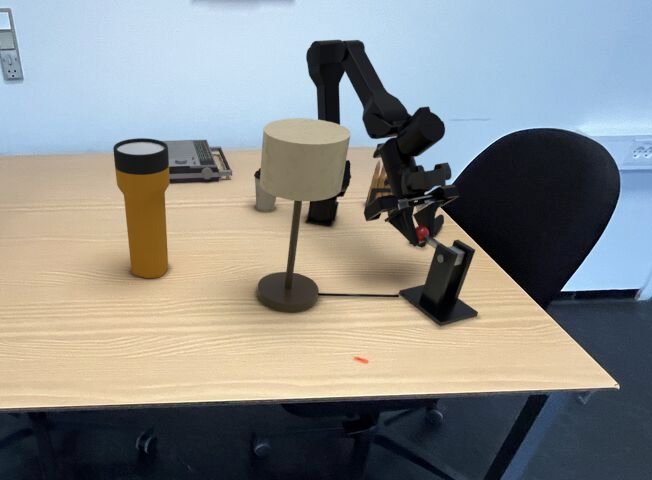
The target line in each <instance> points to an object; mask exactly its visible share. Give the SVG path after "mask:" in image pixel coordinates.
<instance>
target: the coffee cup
mask: <svg viewBox="0 0 652 480" xmlns="http://www.w3.org/2000/svg"><path fill="white" fill-rule="evenodd" d="M260 171H261V167H259V168H258V170H256V171H255V172H254V174H253V177H254V186H255V204H256V205H255V206H256V209H257V210H258V211H260V212H265V213H266V212H272V211H273V210H274V209H275V205H276V201H277V197H276V196H273V195H271V194H269V193H267V192H266V191H264V190H263V189H262V188H261V186H260Z"/></svg>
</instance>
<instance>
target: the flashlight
mask: <svg viewBox="0 0 652 480" xmlns="http://www.w3.org/2000/svg"><path fill="white" fill-rule="evenodd" d="M162 141H163V140H159V139H155V138H146V137H139V138H137V137H136V138H129V139H125V140H121V141H119V142H116V143H115V144H114V145H113V148H112V149H113V150H112V151H113V159H114V169H115V179H116V186H117V187H118V189H119V190H120V192H121V193H122V195H123V200H124V201H123V202H124V209H125V210H124V211H125V219H126V231H127V241H128V251H129V259H130V269H131V273H132V274H133V275H134V276H136V277H140V278H145V279H157V278H160V277H162V276H163V275H164V274H166V273H167V271H168V269H169V254H168V231H167V230H168V229H167V210H166V191H167V189H168V188H169V186H170V183H169V156H168V146H167V144H166V143H164V142H162Z"/></svg>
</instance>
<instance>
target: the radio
mask: <svg viewBox="0 0 652 480" xmlns="http://www.w3.org/2000/svg"><path fill="white" fill-rule="evenodd" d="M161 141H162V142H164V143H166V144H167V146H168V156H169V184H187V183H188V184H189V183H190V184H191V183H213V182H216V183H217V182H219V179H220V177H228V176H229V177H231V176H233V170H232V169H231V167H230V165H229V163H228V160H227V158H226V156H225V154H224V151H223V149H222V146H221V145H220V146H219V145H218V146H210V145H209V141H208V139H184V140H183V139H182V140H181V139H180V140H178V139H177V140H161ZM213 152H214V153H215V152H218V153H219V155H220V157H221V160H222V162H223V165H224V167H225V169H221V168H219V167H218V164H217V162H216V159H215V156H214V155H213Z"/></svg>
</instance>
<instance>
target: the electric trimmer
mask: <svg viewBox="0 0 652 480" xmlns="http://www.w3.org/2000/svg"><path fill="white" fill-rule="evenodd" d="M444 223H445V216H444V214H439V215H437V216H435V220H434V234H433V236H435V235H438V233H439V232H440V230H441V229H442V227H443V225H444ZM409 245H412V244H411V243H410V242H409ZM426 245H427V243H426V242H422V243H419V245H418V246H417V247H419V248H424V247H425V246H426Z"/></svg>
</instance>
